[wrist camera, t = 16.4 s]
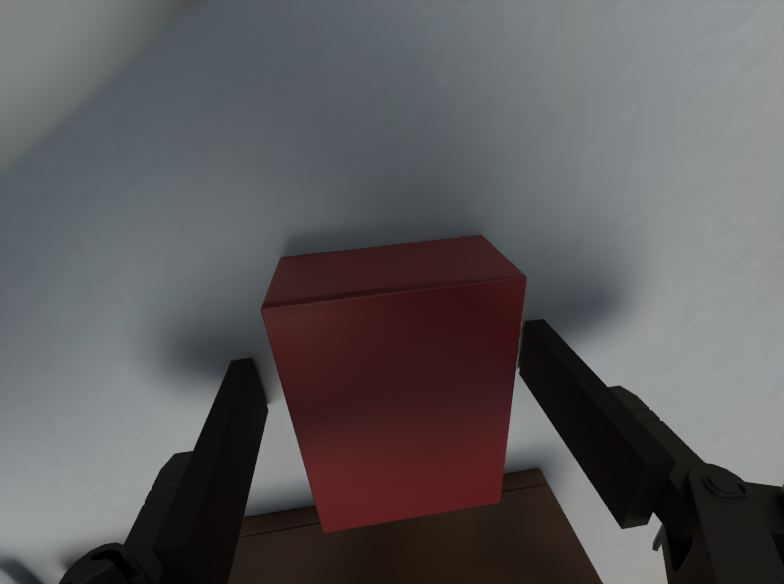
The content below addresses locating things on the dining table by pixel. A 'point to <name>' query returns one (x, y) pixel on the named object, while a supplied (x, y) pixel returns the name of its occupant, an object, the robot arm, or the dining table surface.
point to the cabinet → (422, 545)
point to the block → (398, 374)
